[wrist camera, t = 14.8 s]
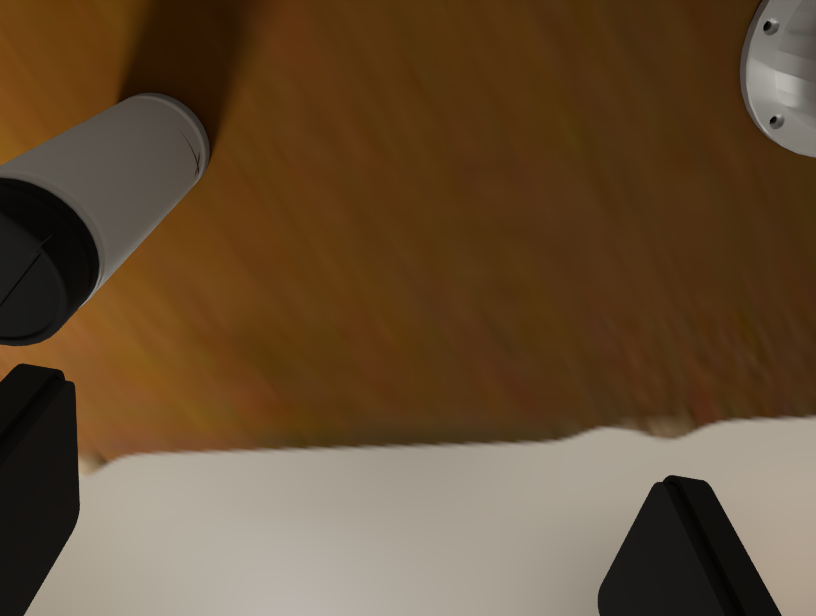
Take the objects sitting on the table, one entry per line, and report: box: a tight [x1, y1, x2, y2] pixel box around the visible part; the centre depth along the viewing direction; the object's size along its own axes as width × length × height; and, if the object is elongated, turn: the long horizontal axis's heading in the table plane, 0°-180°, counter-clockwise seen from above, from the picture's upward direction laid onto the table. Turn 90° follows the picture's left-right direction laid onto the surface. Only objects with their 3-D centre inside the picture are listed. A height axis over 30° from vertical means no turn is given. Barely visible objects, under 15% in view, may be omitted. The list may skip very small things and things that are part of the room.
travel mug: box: [0, 93, 210, 346], centre depth 33 cm, size 6×7×20 cm
